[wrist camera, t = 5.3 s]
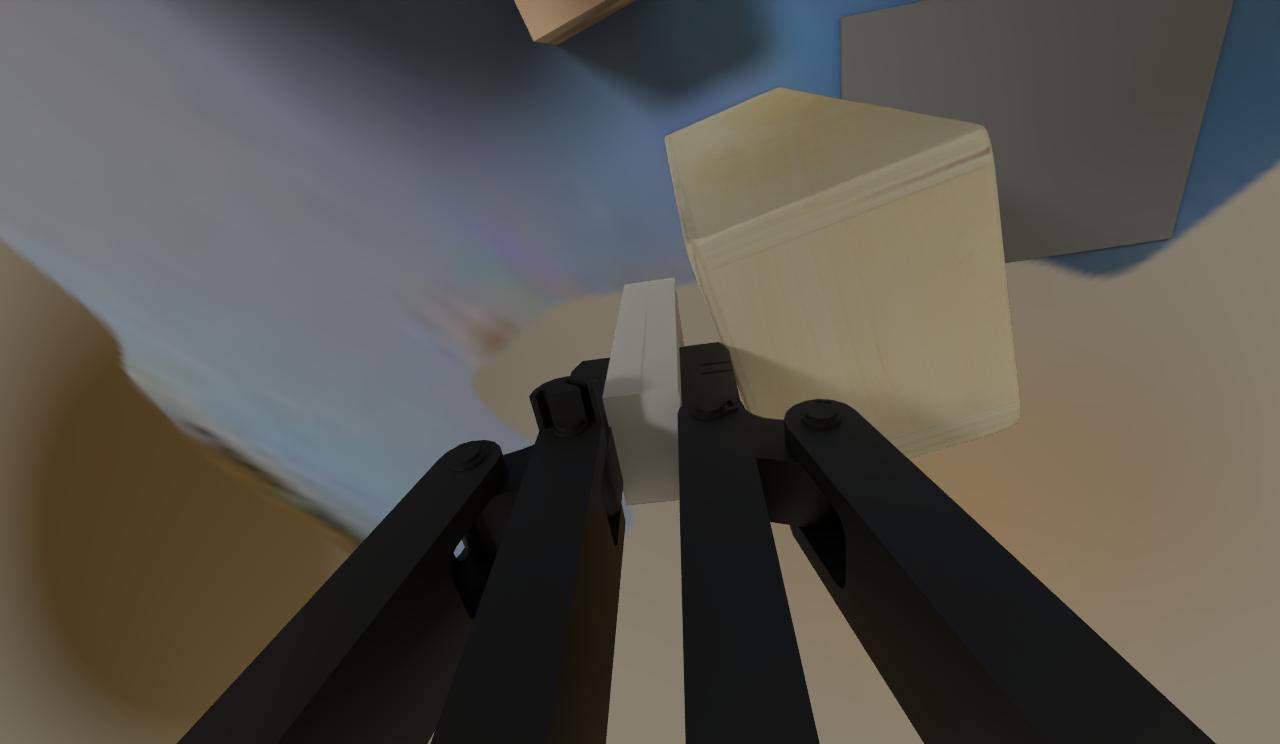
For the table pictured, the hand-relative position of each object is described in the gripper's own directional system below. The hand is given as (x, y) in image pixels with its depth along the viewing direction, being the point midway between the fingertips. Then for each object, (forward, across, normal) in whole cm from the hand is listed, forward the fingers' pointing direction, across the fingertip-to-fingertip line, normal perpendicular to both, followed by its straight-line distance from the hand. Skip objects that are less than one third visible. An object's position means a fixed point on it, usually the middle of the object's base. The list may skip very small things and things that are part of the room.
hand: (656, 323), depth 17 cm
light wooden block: (+18, +5, 0) cm, 19 cm away
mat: (+18, +19, 0) cm, 26 cm away
